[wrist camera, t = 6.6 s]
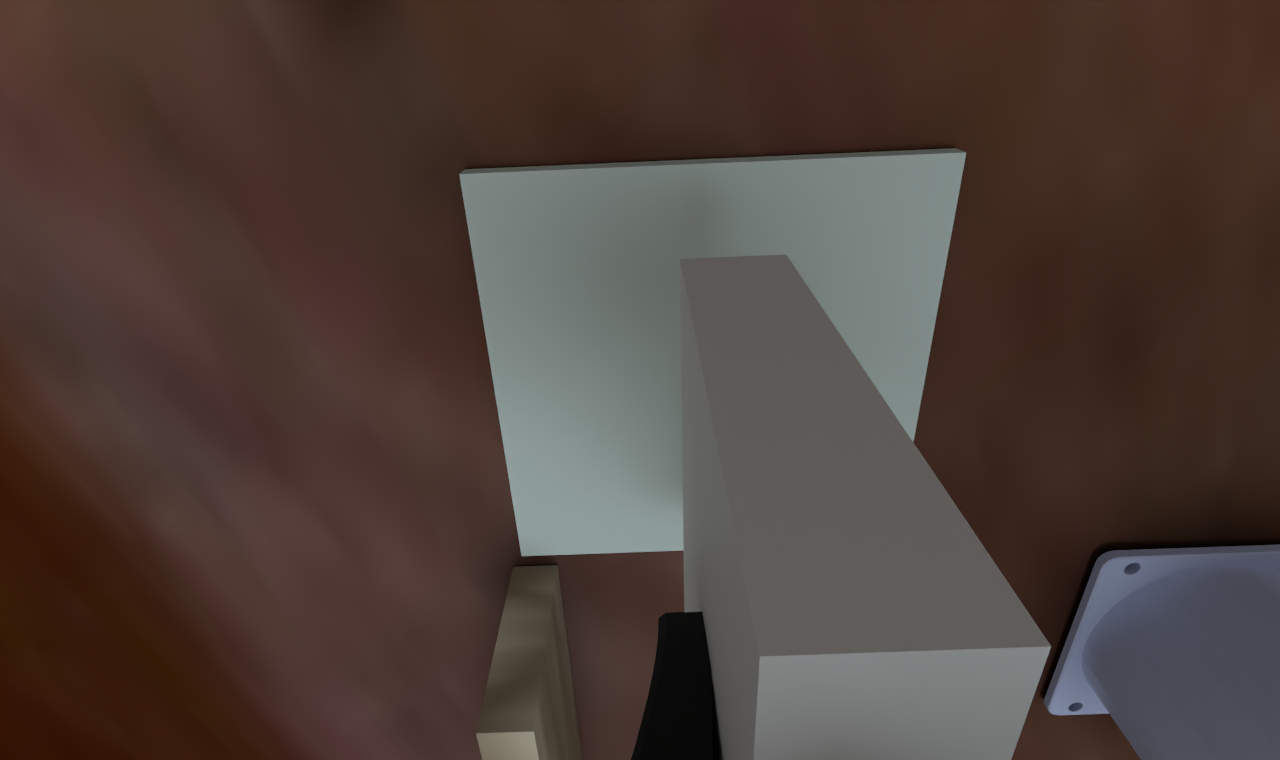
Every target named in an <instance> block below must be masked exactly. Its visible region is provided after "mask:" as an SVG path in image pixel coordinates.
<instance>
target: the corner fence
mask: <svg viewBox="0 0 1280 760" xmlns="http://www.w3.org/2000/svg"><path fill="white" fill-rule="evenodd" d="M476 736H477V740H478V744H479V748H480V752H481V756H482V760H583V757H582V749H581V742H580V734H579V726H578V719H577V711H576V704H575V696H574V688H573V681H572V673H571V665H570V658H569V650H568V642H567V635H566V627H565V619H564V612H563V604H562V596H561V589H560V581H559V573H558V566H557V565H546V566H518V567H513V569H512V574H511V578H510V583H509V587H508V592H507V596H506V601H505V605H504V610H503V614H502V619H501V623H500V628H499V632H498V637H497V641H496V646H495V650H494V655H493V659H492V664H491V668H490V673H489V677H488V682H487V686H486V691H485V695H484V700H483V704H482V709H481V713H480V718H479V722H478V727H477V731H476Z"/></svg>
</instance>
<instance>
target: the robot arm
mask: <svg viewBox="0 0 1280 760" xmlns="http://www.w3.org/2000/svg"><path fill="white" fill-rule="evenodd" d="M1044 704H1045V706H1046V707H1047V709H1048V711H1049V712H1050V713H1052V714H1054V715H1081V714H1110V715H1111V717H1112V718H1113V720H1114V721H1115V722H1116V724H1117V725H1118V727H1119V728H1120V730H1121V731H1122V733H1123V734H1124V735H1125V737H1126V738H1127V740H1128V741H1129V743H1130V744H1131V746H1132V747H1133V749H1134V750H1135V751H1136V753H1137V754H1138V756H1139V757H1140V759H1141V760H1280V545H1254V546H1226V547H1198V548H1170V549H1142V550H1114V551H1108V552H1106V553H1104V554H1102V555H1101V556H1099V557H1098V559H1097V560H1096V562H1095V565H1094V567H1093V570H1092V573H1091V575H1090V578H1089V581H1088V583H1087V586H1086V589H1085V591H1084V594H1083V597H1082V599H1081V602H1080V605H1079V607H1078V610H1077V613H1076V615H1075V618H1074V621H1073V623H1072V626H1071V629H1070V631H1069V634H1068V637H1067V639H1066V642H1065V645H1064V648H1063V650H1062V653H1061V656H1060V658H1059V661H1058V664H1057V666H1056V669H1055V672H1054V674H1053V677H1052V680H1051V682H1050V685H1049V688H1048V690H1047V693H1046V696H1045V698H1044ZM631 760H713V726H712V678H711V664H710V657H709V650H708V644H707V637H706V631H705V625H704V619H703V613H702V612H676V613H665V614H664V615H662V616H661V617H660V618H659V631H658V643H657V652H656V659H655V665H654V671H653V676H652V681H651V685H650V690H649V695H648V699H647V703H646V707H645V711H644V715H643V719H642V722H641V726H640V730H639V734H638V738H637V742H636V745H635V749H634V752H633V755H632V758H631Z"/></svg>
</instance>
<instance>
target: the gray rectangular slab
mask: <svg viewBox="0 0 1280 760" xmlns="http://www.w3.org/2000/svg"><path fill="white" fill-rule="evenodd" d="M680 302H681V384H682V465H683V546H684V612H702V613H703V619H704V625H705V631H706V637H707V644H708V650H709V657H710V664H711V678H712V726H713V760H1011V759H1012V756H1013V753H1014V750H1015V747H1016V744H1017V742H1018V739H1019V736H1020V733H1021V730H1022V728H1023V725H1024V722H1025V719H1026V716H1027V713H1028V711H1029V708H1030V705H1031V702H1032V699H1033V696H1034V694H1035V691H1036V688H1037V685H1038V682H1039V680H1040V677H1041V674H1042V671H1043V668H1044V665H1045V663H1046V660H1047V657H1048V654H1049V651H1050V648H1051V645H1050V644H1049V643H1048V641H1047V640H1046V638H1045V637H1044V635H1043V634H1042V632H1041V631H1040V629H1039V628H1038V626H1037V625H1036V623H1035V622H1034V620H1033V619H1032V617H1031V616H1030V614H1029V613H1028V611H1027V610H1026V608H1025V607H1024V606H1023V604H1022V603H1021V601H1020V600H1019V598H1018V597H1017V595H1016V594H1015V592H1014V591H1013V589H1012V588H1011V586H1010V585H1009V583H1008V582H1007V580H1006V579H1005V577H1004V576H1003V574H1002V573H1001V571H1000V570H999V569H998V567H997V566H996V564H995V563H994V561H993V560H992V558H991V557H990V555H989V554H988V552H987V551H986V549H985V548H984V546H983V545H982V543H981V542H980V540H979V539H978V537H977V536H976V535H975V533H974V532H973V530H972V529H971V527H970V526H969V524H968V523H967V521H966V520H965V518H964V517H963V515H962V514H961V512H960V511H959V509H958V508H957V506H956V505H955V503H954V502H953V500H952V499H951V498H950V496H949V495H948V493H947V492H946V490H945V489H944V487H943V486H942V484H941V483H940V481H939V480H938V478H937V477H936V475H935V474H934V472H933V471H932V469H931V468H930V466H929V465H928V463H927V462H926V461H925V459H924V458H923V456H922V455H921V453H920V452H919V450H918V449H917V447H916V446H915V444H914V443H913V441H912V440H911V438H910V437H909V435H908V434H907V432H906V431H905V429H904V428H903V426H902V425H901V424H900V422H899V421H898V419H897V418H896V416H895V415H894V413H893V412H892V410H891V409H890V407H889V406H888V404H887V403H886V401H885V400H884V398H883V397H882V395H881V394H880V392H879V391H878V390H877V388H876V387H875V385H874V384H873V382H872V381H871V379H870V378H869V376H868V375H867V373H866V372H865V370H864V369H863V367H862V366H861V364H860V363H859V361H858V360H857V358H856V357H855V355H854V354H853V353H852V351H851V350H850V348H849V347H848V345H847V344H846V342H845V341H844V339H843V338H842V336H841V335H840V333H839V332H838V330H837V329H836V327H835V326H834V324H833V323H832V321H831V320H830V318H829V317H828V316H827V314H826V313H825V311H824V310H823V308H822V307H821V305H820V304H819V302H818V301H817V299H816V298H815V296H814V295H813V293H812V292H811V290H810V289H809V287H808V286H807V284H806V283H805V281H804V280H803V279H802V277H801V276H800V274H799V273H798V271H797V270H796V268H795V267H794V265H793V264H792V262H791V261H790V259H789V258H788V256H787V255H763V256H739V257H714V258H690V259H680Z"/></svg>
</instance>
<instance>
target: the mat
mask: <svg viewBox="0 0 1280 760" xmlns="http://www.w3.org/2000/svg"><path fill="white" fill-rule="evenodd" d="M965 157H966V152H964V151H961V150H959V149H956V148H951V149H927V150H904V151H880V152H857V153H834V154H810V155H787V156H764V157H740V158H717V159H694V160H670V161H647V162H624V163H600V164H577V165H554V166H530V167H507V168H484V169H465V170H464V171H462V172H461V173H460V174H459V175H460V182H461V188H462V194H463V200H464V206H465V212H466V218H467V225H468V231H469V237H470V243H471V249H472V255H473V261H474V268H475V274H476V280H477V286H478V292H479V298H480V304H481V310H482V317H483V323H484V329H485V335H486V341H487V347H488V353H489V360H490V366H491V372H492V378H493V384H494V390H495V396H496V403H497V409H498V415H499V421H500V427H501V433H502V439H503V445H504V452H505V458H506V464H507V470H508V476H509V482H510V488H511V495H512V501H513V507H514V513H515V519H516V525H517V531H518V538H519V544H520V550H521V556H542V555H570V554H597V553H625V552H653V551H680V550H684V546H683V465H682V384H681V302H680V259H690V258H714V257H739V256H763V255H787V256H788V258H789V259H790V261H791V262H792V264H793V265H794V267H795V268H796V270H797V271H798V273H799V274H800V276H801V277H802V279H803V280H804V281H805V283H806V284H807V286H808V287H809V289H810V290H811V292H812V293H813V295H814V296H815V298H816V299H817V301H818V302H819V304H820V305H821V307H822V308H823V310H824V311H825V313H826V314H827V316H828V317H829V318H830V320H831V321H832V323H833V324H834V326H835V327H836V329H837V330H838V332H839V333H840V335H841V336H842V338H843V339H844V341H845V342H846V344H847V345H848V347H849V348H850V350H851V351H852V353H853V354H854V355H855V357H856V358H857V360H858V361H859V363H860V364H861V366H862V367H863V369H864V370H865V372H866V373H867V375H868V376H869V378H870V379H871V381H872V382H873V384H874V385H875V387H876V388H877V390H878V391H879V392H880V394H881V395H882V397H883V398H884V400H885V401H886V403H887V404H888V406H889V407H890V409H891V410H892V412H893V413H894V415H895V416H896V418H897V419H898V421H899V422H900V424H901V425H902V426H903V428H904V429H905V431H906V432H907V434H908V435H909V437H910V438H911V440H912V441H913V442H914V436H915V431H916V425H917V420H918V414H919V409H920V403H921V398H922V393H923V387H924V382H925V376H926V371H927V365H928V360H929V354H930V349H931V343H932V338H933V332H934V327H935V321H936V316H937V310H938V305H939V299H940V294H941V288H942V283H943V277H944V272H945V267H946V261H947V256H948V250H949V245H950V239H951V234H952V228H953V223H954V217H955V212H956V206H957V201H958V195H959V190H960V184H961V179H962V173H963V168H964V162H965Z"/></svg>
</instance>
